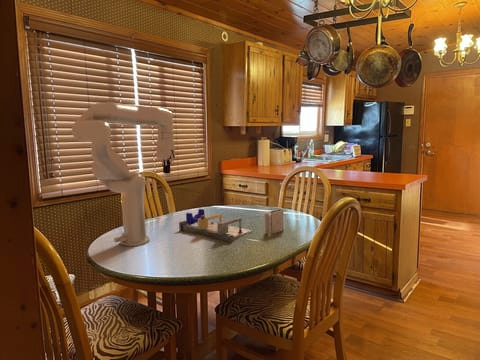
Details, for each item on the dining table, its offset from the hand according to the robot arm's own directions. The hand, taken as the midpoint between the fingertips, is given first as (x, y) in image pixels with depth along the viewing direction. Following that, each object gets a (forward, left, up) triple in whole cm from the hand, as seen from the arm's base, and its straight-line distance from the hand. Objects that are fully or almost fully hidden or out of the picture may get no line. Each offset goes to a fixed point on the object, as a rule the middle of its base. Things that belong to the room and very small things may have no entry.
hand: (166, 173), depth 181 cm
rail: (+2, -25, -29) cm, 38 cm away
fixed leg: (+7, -36, -27) cm, 46 cm away
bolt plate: (+14, -24, -29) cm, 40 cm away
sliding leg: (+7, -23, -27) cm, 36 cm away
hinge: (+26, -47, -29) cm, 61 cm away
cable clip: (+18, 0, -29) cm, 34 cm away
